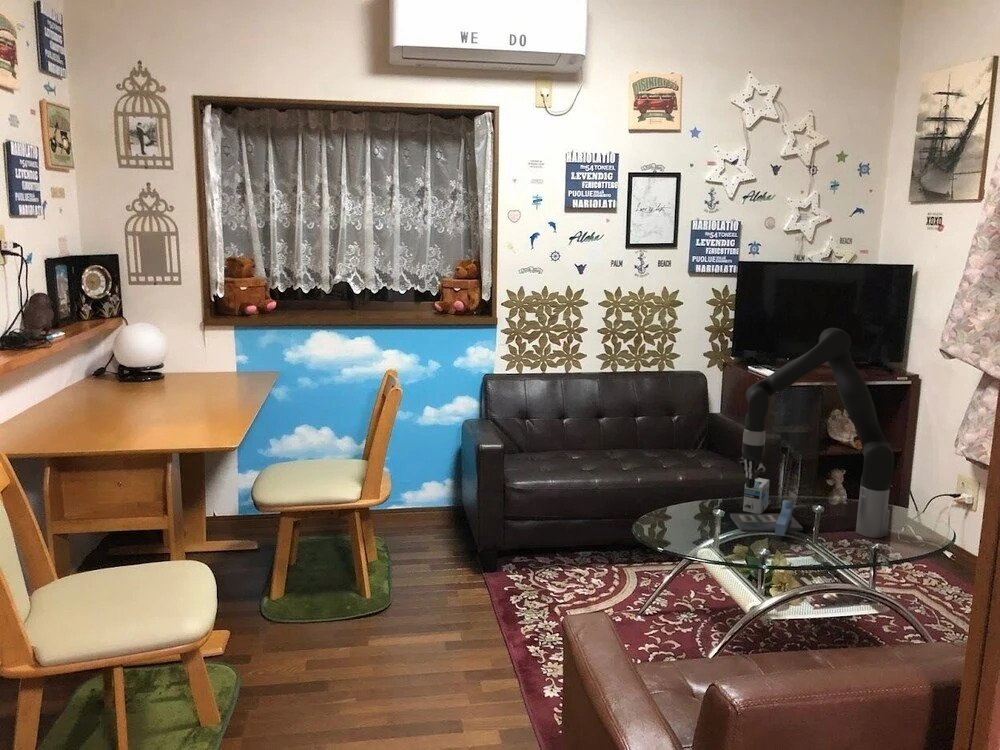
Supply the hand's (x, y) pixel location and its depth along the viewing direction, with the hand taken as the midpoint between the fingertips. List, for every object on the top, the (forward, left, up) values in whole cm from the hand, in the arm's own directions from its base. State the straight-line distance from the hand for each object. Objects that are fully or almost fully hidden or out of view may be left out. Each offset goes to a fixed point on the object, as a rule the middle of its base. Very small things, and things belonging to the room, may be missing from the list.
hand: (750, 487), depth 286 cm
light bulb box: (-7, -13, -14) cm, 20 cm away
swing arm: (-10, +7, -12) cm, 17 cm away
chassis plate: (-6, +1, -13) cm, 15 cm away
